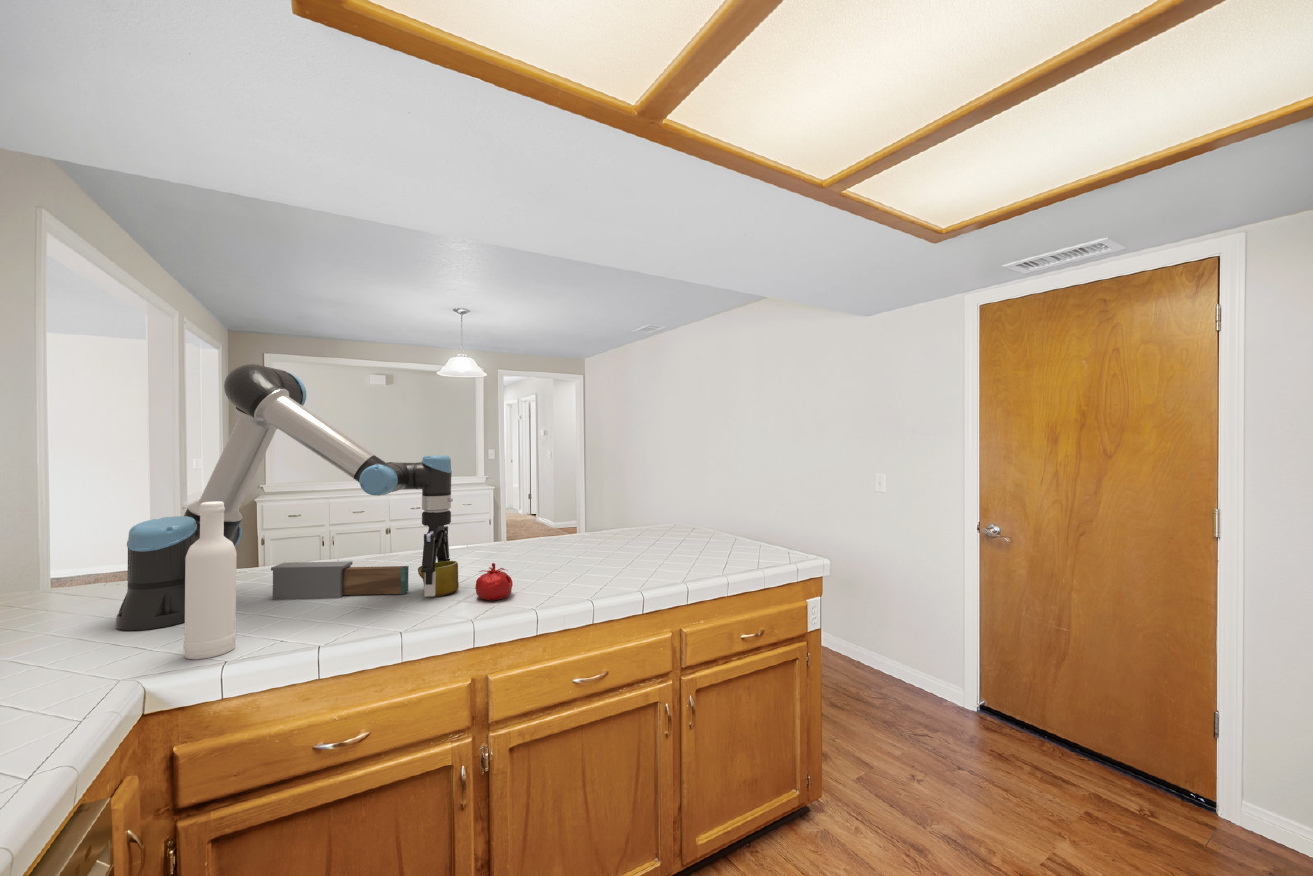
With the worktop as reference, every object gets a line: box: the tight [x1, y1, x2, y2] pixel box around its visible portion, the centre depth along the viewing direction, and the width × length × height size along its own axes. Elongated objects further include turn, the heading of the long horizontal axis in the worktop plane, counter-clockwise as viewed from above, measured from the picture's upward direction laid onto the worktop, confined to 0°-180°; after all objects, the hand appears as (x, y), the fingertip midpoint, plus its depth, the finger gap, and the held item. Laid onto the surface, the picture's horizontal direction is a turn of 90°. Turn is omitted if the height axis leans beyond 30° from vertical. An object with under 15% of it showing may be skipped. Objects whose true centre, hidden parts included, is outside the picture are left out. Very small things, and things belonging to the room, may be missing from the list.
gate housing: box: [270, 561, 353, 601], centre depth 142 cm, size 6×18×8 cm, turn 96°
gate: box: [342, 565, 410, 596], centre depth 144 cm, size 3×16×7 cm, turn 96°
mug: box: [417, 560, 460, 598], centre depth 146 cm, size 12×10×10 cm
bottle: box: [183, 501, 238, 660], centre depth 104 cm, size 8×8×30 cm
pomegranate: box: [474, 562, 514, 601], centre depth 141 cm, size 10×10×9 cm
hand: (435, 590), depth 145 cm, fingers closed on mug, 9 cm apart
